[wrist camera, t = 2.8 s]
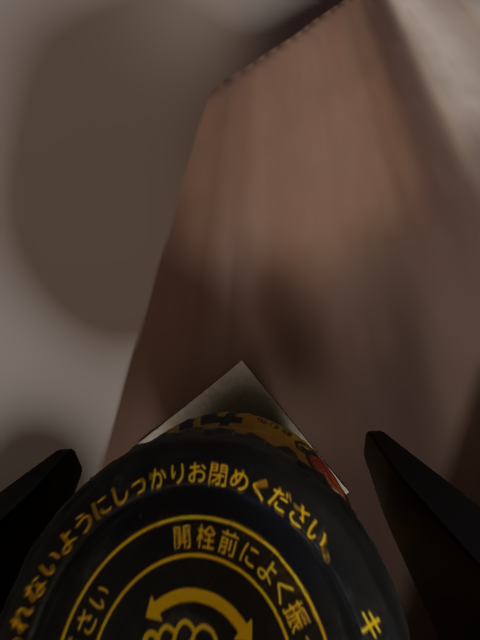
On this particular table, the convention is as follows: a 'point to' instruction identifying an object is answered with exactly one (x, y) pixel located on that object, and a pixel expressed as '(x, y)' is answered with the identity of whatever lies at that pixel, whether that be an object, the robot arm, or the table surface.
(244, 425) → the condiment
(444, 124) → the table surface
